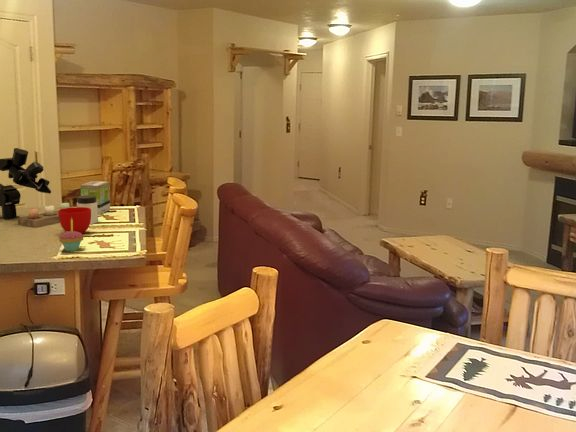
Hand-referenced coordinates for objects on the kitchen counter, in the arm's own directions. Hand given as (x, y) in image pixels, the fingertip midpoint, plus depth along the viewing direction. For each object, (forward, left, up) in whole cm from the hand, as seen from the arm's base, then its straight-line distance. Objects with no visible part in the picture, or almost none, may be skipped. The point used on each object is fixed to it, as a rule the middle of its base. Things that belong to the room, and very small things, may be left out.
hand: (43, 190), depth 269 cm
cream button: (-2, +4, -12) cm, 13 cm away
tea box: (-2, +31, -15) cm, 34 cm away
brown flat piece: (-2, +4, -15) cm, 16 cm away
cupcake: (+49, -26, -15) cm, 58 cm away
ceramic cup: (+26, -6, -15) cm, 31 cm away
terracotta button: (-2, -5, -12) cm, 13 cm away
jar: (+15, +11, -15) cm, 24 cm away
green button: (-2, +12, -12) cm, 17 cm away
